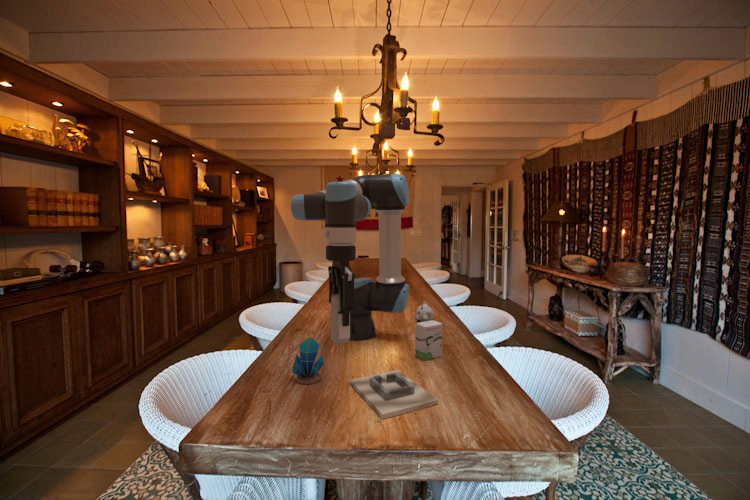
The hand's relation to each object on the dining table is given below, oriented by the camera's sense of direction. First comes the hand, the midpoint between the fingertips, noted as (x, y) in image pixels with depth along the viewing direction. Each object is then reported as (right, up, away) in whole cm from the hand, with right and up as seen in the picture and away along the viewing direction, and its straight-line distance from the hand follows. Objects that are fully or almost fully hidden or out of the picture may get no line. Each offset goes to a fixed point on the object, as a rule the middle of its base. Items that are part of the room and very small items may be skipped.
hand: (340, 334), depth 90 cm
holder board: (+13, -17, +5) cm, 22 cm away
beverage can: (0, -2, 0) cm, 2 cm away
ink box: (+28, -16, +32) cm, 45 cm away
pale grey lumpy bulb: (+32, -12, +76) cm, 83 cm away
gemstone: (-11, -17, +13) cm, 24 cm away
